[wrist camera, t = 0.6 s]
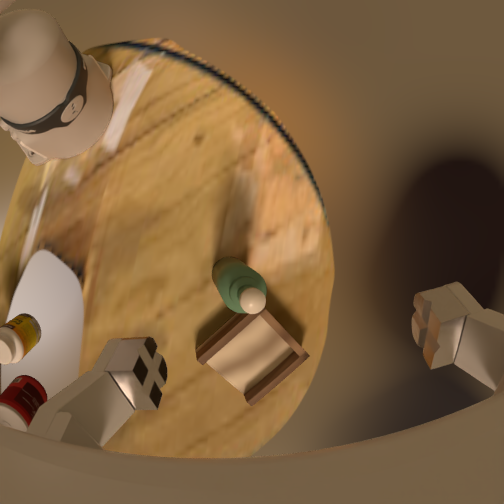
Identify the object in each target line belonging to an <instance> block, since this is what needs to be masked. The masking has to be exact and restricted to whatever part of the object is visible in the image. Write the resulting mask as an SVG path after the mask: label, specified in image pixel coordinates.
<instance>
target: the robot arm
mask: <svg viewBox="0 0 504 504" xmlns="http://www.w3.org/2000/svg"><path fill="white" fill-rule="evenodd" d="M15 1H16V0H0V14H1V13H2V12H3V11H5V10H6V9H7V8H8V7H9V6H10V5H11V4H12V3H13V2H15ZM111 77H112V69H111V68H110V66H109V65H107V64H104V63H101V62H98V61H96V60H95V58H94V57H93V56H92V55H88V56H87V55H85V54H82V53H80V51H79V50H78V49H77V48H76V47H75V46H74V45H73V44H72V43H71V42H70V41H68V40H67V38H66V36H65V35H64V33H63V31H62V29H61V28H60V26H59V24H58V22H57V21H56V19H55V18H54V17H53V16H52V15H50V14H49V13H47V12H44V11H42V10H35V9H21V10H15V11H12V12H9V13H7V14H4V15H2V16H0V117H1V120H0V126H1V127H2V128H3V129H4V130H5V131H8V130H9V131H10V132H11V134H10V136H11V137H12V138H13V139H14V140H16V141H17V143H18V144H19V146H20V147H21V148H22V150H23V151H24V153H25V154H26V156H27V157H28V158H29V160H30V161H31V162H32V163H33V164H34V165H36V166H38V165H42V164H44V163H46V162H48V161H50V160H51V159H62V158H70V157H73V156H76V155H78V154H81V153H82V152H84V151H86V150H87V149H89V148H90V147H91V146H92V145H94V144H95V143H96V142H97V140H98V139H99V138H100V137H101V136H102V134H103V133H104V131H105V130H106V128H107V126H108V124H109V121H110V119H111V115H112V110H113V98H112V93H111V89H110V81H111ZM33 152H34V153H35V154H33ZM414 306H415V308H416V309H417V311H416V312H415V314H414V315H413V316H412V331H413V336H414V339H415V341H416V343H417V345H419V346H420V347H422V348H424V351H423V356H424V358H425V360H426V362H427V364H428V365H429V367H430V369H434V368H438V367H441V366H444V365H448V364H451V363H454V364H455V365H457V366H458V367H460V368H461V369H463V370H464V371H466V372H467V373H469V374H470V375H472V376H474V377H475V378H476V379H478V380H479V381H481V382H482V383H484V384H486V385H487V386H488V387H490V388H491V389H493V390H494V391H495V392H494V394H493V396H492V397H490V398H488V399H486V400H484V401H482V402H479V403H477V404H475V405H473V406H470V407H468V408H465V409H463V410H460V411H458V412H455V413H453V414H451V415H448V416H445V417H443V418H440V419H437V420H434V421H431V422H428V423H425V424H422V425H419V426H416V427H413V428H410V429H406V430H403V431H400V432H396V433H393V434H389V435H385V436H382V437H378V438H374V439H370V440H365V441H361V442H357V443H352V444H347V445H342V446H338V447H332V448H326V449H320V450H314V451H308V452H300V453H292V454H283V455H273V456H261V457H245V458H173V457H157V456H146V455H136V454H127V453H119V452H112V451H106V450H104V449H103V448H102V446H103V445H104V444H105V443H106V442H107V441H108V440H109V439H110V438H111V437H112V436H113V435H114V433H115V432H116V431H117V430H118V429H119V428H120V427H121V426H122V425H123V424H124V423H125V422H126V420H127V419H128V418H129V417H130V416H131V415H132V414H133V413H134V412H135V410H158V407H159V404H160V400H161V397H162V392H161V391H160V388H161V387H162V386H164V385H165V384H166V380H167V366H166V362H165V360H164V358H163V356H162V355H160V354H159V353H157V352H156V349H157V344H156V342H155V340H154V339H153V338H151V337H133V338H116V339H111V340H109V341H108V342H107V344H106V346H105V347H104V349H103V351H102V353H101V355H100V356H99V358H98V360H97V362H96V364H95V365H94V367H93V369H92V371H88V372H86V373H85V374H84V375H82V376H81V377H79V378H78V379H77V380H75V381H74V382H73V383H71V384H70V385H69V386H67V387H66V388H65V389H63V390H62V391H60V392H59V393H58V394H56V395H55V396H54V397H52V398H51V399H49V400H48V401H47V402H45V403H44V404H43V405H41V406H40V407H39V409H38V411H37V412H36V414H35V416H34V418H33V420H32V422H31V423H30V425H29V427H28V429H27V431H26V432H23V431H20V430H17V429H14V428H11V427H8V426H5V425H2V424H0V504H504V315H503V314H501V313H498V312H495V311H493V310H490V309H485V310H484V309H483V308H482V307H481V306H480V305H479V303H478V302H477V301H476V300H475V299H474V298H473V297H472V296H471V294H470V293H469V292H468V291H467V290H466V289H465V288H464V287H463V286H462V285H461V284H460V283H458V282H455V283H452V284H448V285H445V286H443V287H439V288H435V289H432V290H428V291H424V292H420V293H416V295H415V298H414Z"/></svg>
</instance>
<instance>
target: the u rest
mask: <svg viewBox="0 0 504 504" xmlns="http://www.w3.org/2000/svg"><path fill="white" fill-rule="evenodd" d="M195 351H196V357H197V361H199V362H200V363H201V364H202V365H203V364H205V363H207V364H209V365H210V366H211V367H212V368H213V369H214V370H215V371H217V372H218V373H219V374H220V375H221V376H222V377H224V378H225V379H226V380H227V381H228V382H229V383H231V384H232V385H233V386H234V387H235V388H237V389H238V390H239V391H240V392H241V393H243V394H244V396H245V399H246V401H247V403H248V404H250V405H251V406H253V405H254V404H255V403H257V402H258V401H259V400H260V399H261V398H263V397H264V396H265V395H266V394H267V393H269V392H270V391H271V390H272V389H273V388H274V387H276V386H277V385H278V384H279V383H280V382H281V381H283V380H284V379H285V378H286V377H287V376H288V375H289V374H291V373H292V372H293V371H294V370H295V369H296V368H297V367H298V366H299V365H301V364H302V363H303V362H304V361H305V360H306V359H307V358H308V357H309V356H310V355H309V354H308V353H307V352H306V351H305V350H304V349H303V348H302V347H301V346H300V345H299V344H298V343H297V342H296V341H295V340H294V339H293V338H292V337H291V336H290V334H289V333H288V332H287V331H286V330H285V329H284V328H283V327H282V326H281V325H280V324H279V323H278V322H277V321H276V320H275V318H274V317H273V316H272V315H271V314H270V313H269V312H268V311H267V310H266V309H265V308H263V309H262V310H261V311H260V312H259V313H256V314H249V313H236V314H235V315H234V316H233V317H232V318H231V319H230V320H228V321H227V322H226V323H225V324H224V325H223V326H222V327H221V328H219V329H218V330H217V331H216V332H215V333H214V334H213V335H212V336H211V337H209V338H208V339H207V340H206V341H205V342H204V343H203V344H201V345H200V346H199V347H198V348H197V349H196V350H195Z"/></svg>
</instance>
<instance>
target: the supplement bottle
mask: <svg viewBox="0 0 504 504" xmlns="http://www.w3.org/2000/svg"><path fill="white" fill-rule="evenodd" d="M40 338H41V329H40V326H39V324H38V322H37V321H36V319H35V318H34V317H33V316H31V315H29V314H20V315H18V316H16V317H15V318H14V319H12V320H10V321H9V322H8V323H6V324H5V325H3V326H2V327H0V363H1V364H4V365H7V364H9V363H17V362H19V361H20V360H21V359H22V358H23V357H24V356H25V355H26V354H27V353H28V352H29V351H30V350H31V349H32V348H33V347H34V346H35V345H36V344H37V343H38V342H39V340H40Z"/></svg>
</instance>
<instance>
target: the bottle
mask: <svg viewBox="0 0 504 504" xmlns="http://www.w3.org/2000/svg"><path fill="white" fill-rule="evenodd" d="M212 279H213V282H214V284H215V285H216V287H217V289H218V291H219V293H220V295H221V297H222V299H223V300H224V302H225V304H226V305H227V307H228V308H230V309H231V310H232V311H234V312H237V313H249V314H256V313H259V312H260V311H261V310H262V309H263V308H264V307H265V304H266V298H265V297H266V291H267V289H266V284H265V281H264V279H263V278H262V277H261V275H259V274H258V273H257V272H256V271H254V270H253V269H251V268H250V267H249V266H247V265H246V264H244V263H243V262H242V261H240V260H239V259H237V258H234V257H225V258H222V259H220V260H219V261H218V262H217V263H216V264H215V266H214V268H213V270H212Z"/></svg>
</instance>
